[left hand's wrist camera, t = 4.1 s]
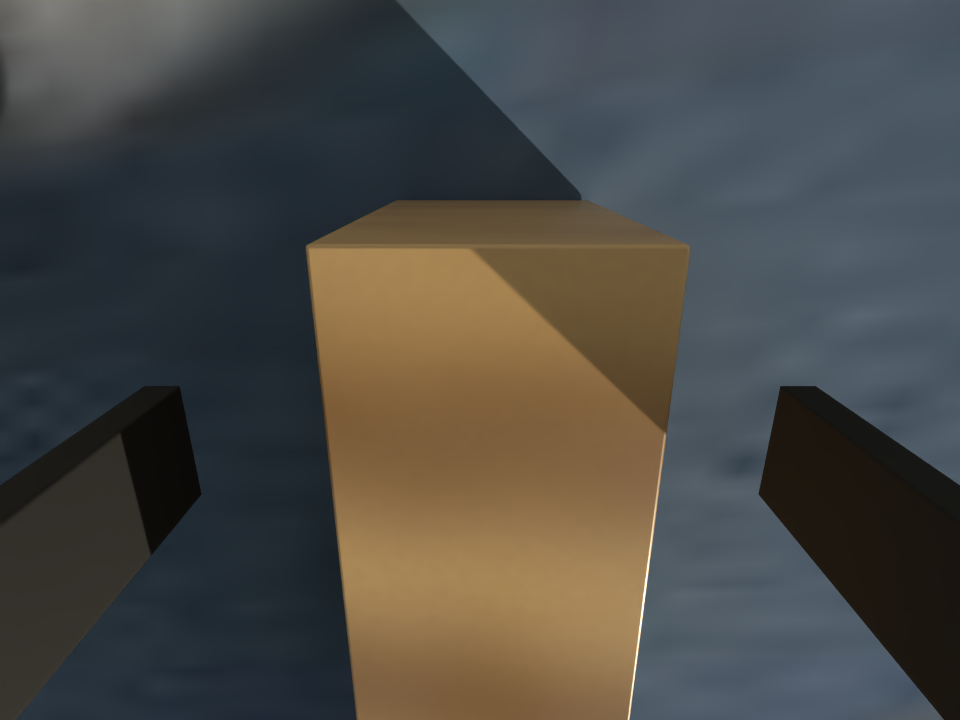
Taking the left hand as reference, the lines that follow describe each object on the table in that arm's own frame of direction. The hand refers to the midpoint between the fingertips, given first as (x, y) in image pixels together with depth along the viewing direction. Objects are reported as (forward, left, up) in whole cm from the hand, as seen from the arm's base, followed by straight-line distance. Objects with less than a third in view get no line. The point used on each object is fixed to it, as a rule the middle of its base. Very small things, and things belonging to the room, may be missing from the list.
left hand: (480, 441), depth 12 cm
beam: (+2, +21, -4) cm, 22 cm away
